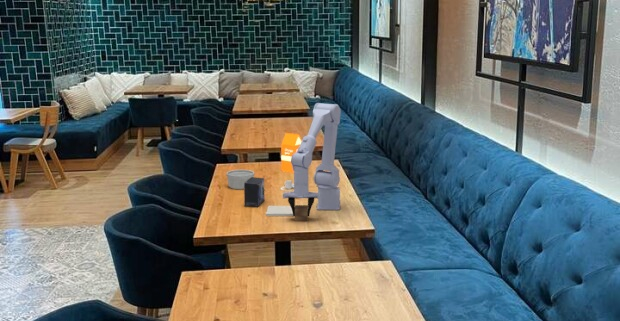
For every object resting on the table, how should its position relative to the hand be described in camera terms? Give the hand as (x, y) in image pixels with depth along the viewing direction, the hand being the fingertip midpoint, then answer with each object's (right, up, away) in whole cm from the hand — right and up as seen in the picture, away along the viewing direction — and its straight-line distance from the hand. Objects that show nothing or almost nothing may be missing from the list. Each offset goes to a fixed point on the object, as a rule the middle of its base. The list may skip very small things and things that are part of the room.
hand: (301, 215), depth 235 cm
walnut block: (0, -1, 0) cm, 1 cm away
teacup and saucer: (-4, +8, +44) cm, 45 cm away
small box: (-21, +3, +21) cm, 30 cm away
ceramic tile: (-9, +1, +9) cm, 13 cm away
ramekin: (-30, +9, +49) cm, 58 cm away
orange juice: (-6, +16, +81) cm, 82 cm away
